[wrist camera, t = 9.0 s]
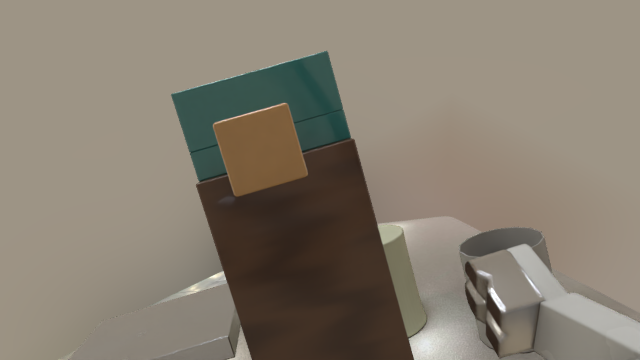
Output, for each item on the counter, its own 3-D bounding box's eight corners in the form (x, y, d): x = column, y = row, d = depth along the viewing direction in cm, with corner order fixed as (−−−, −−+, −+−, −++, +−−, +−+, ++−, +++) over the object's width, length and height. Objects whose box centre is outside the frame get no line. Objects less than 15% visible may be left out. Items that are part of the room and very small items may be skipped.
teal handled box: (123, 239, 12) (62, 65, 12) (218, 167, 32) (197, 101, 31) (420, 152, 13) (376, -21, 12) (333, 134, 33) (315, 68, 32)
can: (427, 302, 63) (405, 216, 61) (425, 339, 54) (399, 239, 53) (360, 313, 66) (336, 230, 64) (348, 349, 57) (320, 254, 55)
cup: (472, 351, 49) (449, 260, 48) (486, 312, 56) (467, 232, 55) (563, 353, 45) (540, 253, 44) (566, 310, 52) (547, 223, 51)
